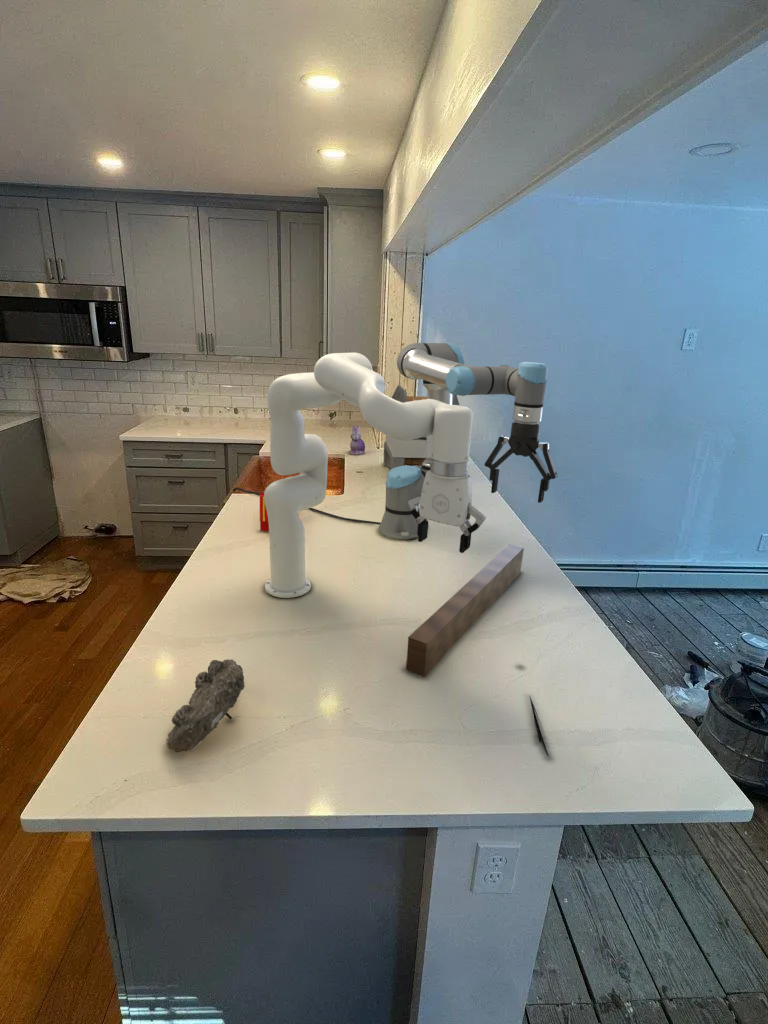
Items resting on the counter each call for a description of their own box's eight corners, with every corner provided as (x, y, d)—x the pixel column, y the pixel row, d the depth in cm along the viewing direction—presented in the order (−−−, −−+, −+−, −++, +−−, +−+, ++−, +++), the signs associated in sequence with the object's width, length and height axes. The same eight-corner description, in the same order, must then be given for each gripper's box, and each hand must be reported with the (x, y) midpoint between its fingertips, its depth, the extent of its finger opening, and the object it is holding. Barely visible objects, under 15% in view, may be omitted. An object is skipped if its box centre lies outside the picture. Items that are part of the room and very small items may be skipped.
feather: (521, 671, 128) (526, 665, 127) (548, 760, 101) (555, 753, 101) (514, 667, 128) (520, 661, 127) (540, 755, 101) (547, 748, 101)
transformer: (382, 463, 289) (386, 382, 275) (445, 464, 293) (451, 384, 279) (390, 482, 257) (394, 392, 243) (460, 483, 261) (468, 394, 247)
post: (506, 569, 176) (509, 544, 173) (520, 572, 174) (523, 547, 171) (406, 670, 125) (408, 636, 122) (424, 677, 123) (427, 643, 120)
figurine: (353, 455, 301) (353, 427, 296) (345, 451, 309) (345, 424, 304) (369, 454, 305) (370, 426, 300) (361, 450, 314) (361, 423, 308)
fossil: (192, 660, 117) (244, 628, 112) (224, 691, 120) (276, 661, 115) (142, 746, 98) (202, 712, 93) (182, 779, 101) (242, 748, 96)
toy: (300, 481, 221) (289, 494, 192) (300, 514, 224) (289, 533, 194) (268, 480, 221) (253, 493, 191) (269, 514, 223) (254, 532, 194)
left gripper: (403, 463, 116) (398, 541, 122) (482, 479, 107) (473, 561, 113) (420, 456, 122) (415, 530, 128) (496, 471, 114) (487, 549, 119)
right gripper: (477, 417, 156) (470, 491, 163) (569, 430, 144) (557, 509, 151) (488, 414, 162) (480, 485, 169) (576, 426, 150) (564, 502, 157)
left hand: (442, 545), depth 120 cm, fingers open, 9 cm apart
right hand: (516, 496), depth 160 cm, fingers open, 13 cm apart
